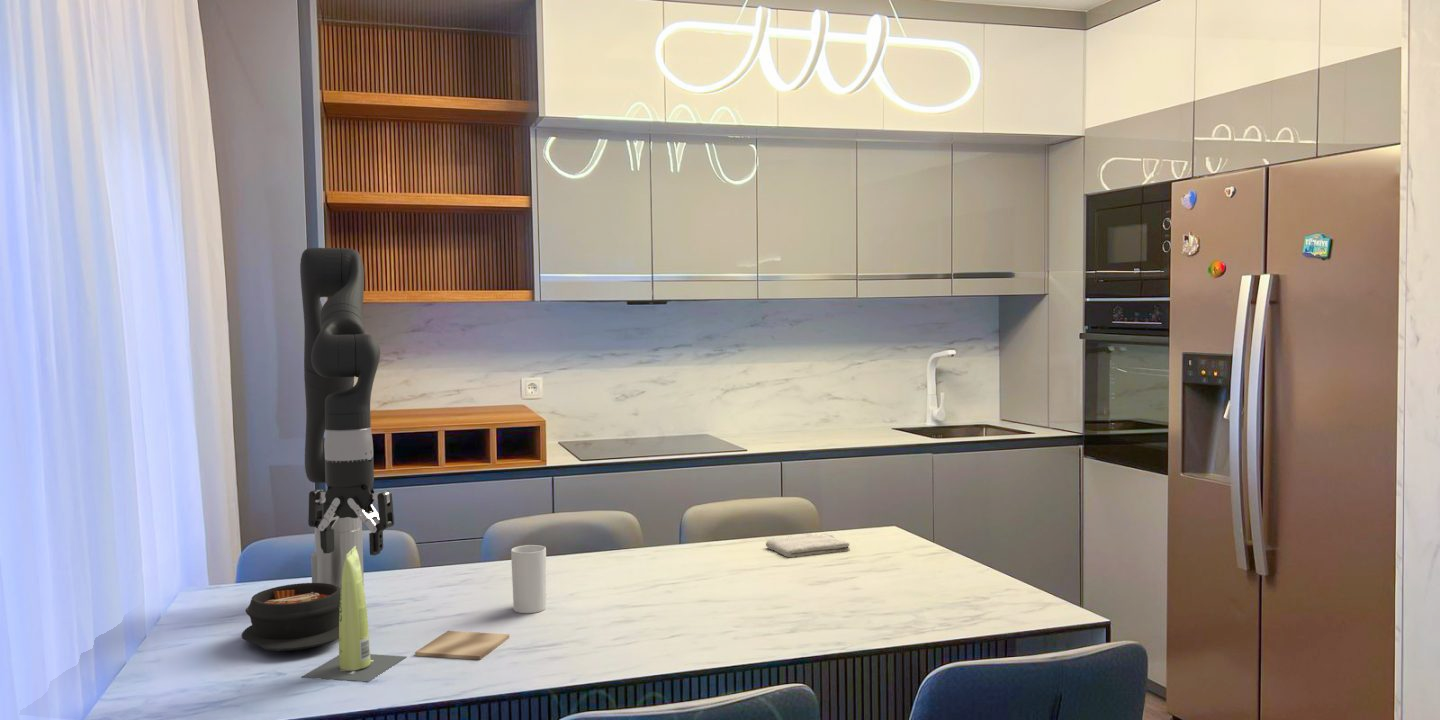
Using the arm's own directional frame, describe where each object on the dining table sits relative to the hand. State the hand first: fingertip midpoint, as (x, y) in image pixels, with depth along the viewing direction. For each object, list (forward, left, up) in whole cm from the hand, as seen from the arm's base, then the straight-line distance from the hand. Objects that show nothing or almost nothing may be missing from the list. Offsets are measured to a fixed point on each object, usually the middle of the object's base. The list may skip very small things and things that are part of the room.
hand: (352, 553), depth 170 cm
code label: (0, 0, -20) cm, 20 cm away
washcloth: (+63, +96, -20) cm, 117 cm away
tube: (0, 0, -19) cm, 19 cm away
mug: (+15, +38, -19) cm, 45 cm away
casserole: (-19, +12, -19) cm, 30 cm away
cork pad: (+13, +13, -19) cm, 26 cm away
